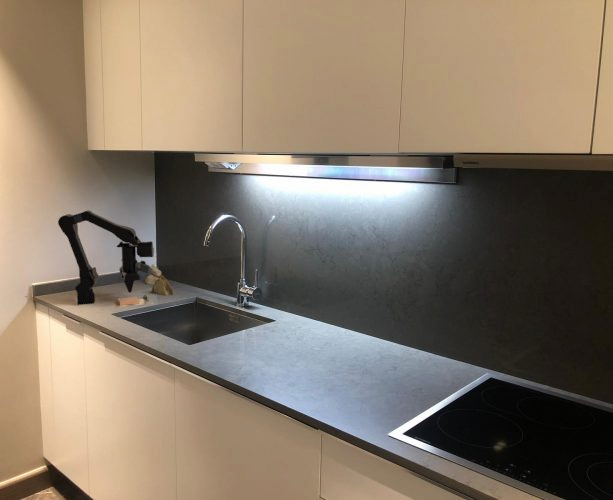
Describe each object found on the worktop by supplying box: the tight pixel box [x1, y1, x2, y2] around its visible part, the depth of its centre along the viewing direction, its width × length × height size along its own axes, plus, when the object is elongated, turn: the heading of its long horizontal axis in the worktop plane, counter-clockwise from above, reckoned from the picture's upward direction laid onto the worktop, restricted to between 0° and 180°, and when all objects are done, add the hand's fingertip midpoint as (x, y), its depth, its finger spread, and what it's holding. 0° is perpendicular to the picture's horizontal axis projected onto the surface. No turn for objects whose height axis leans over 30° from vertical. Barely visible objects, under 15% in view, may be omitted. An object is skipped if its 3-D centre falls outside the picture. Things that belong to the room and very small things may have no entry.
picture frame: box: [117, 296, 140, 305], centre depth 239 cm, size 8×2×7 cm
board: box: [111, 297, 153, 308], centre depth 241 cm, size 16×10×1 cm, turn 115°
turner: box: [143, 294, 153, 305], centre depth 244 cm, size 3×11×1 cm, turn 25°
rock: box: [151, 275, 175, 296], centre depth 258 cm, size 11×9×10 cm
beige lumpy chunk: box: [144, 264, 163, 285], centre depth 279 cm, size 6×8×10 cm
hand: (130, 292), depth 241 cm, fingers closed
